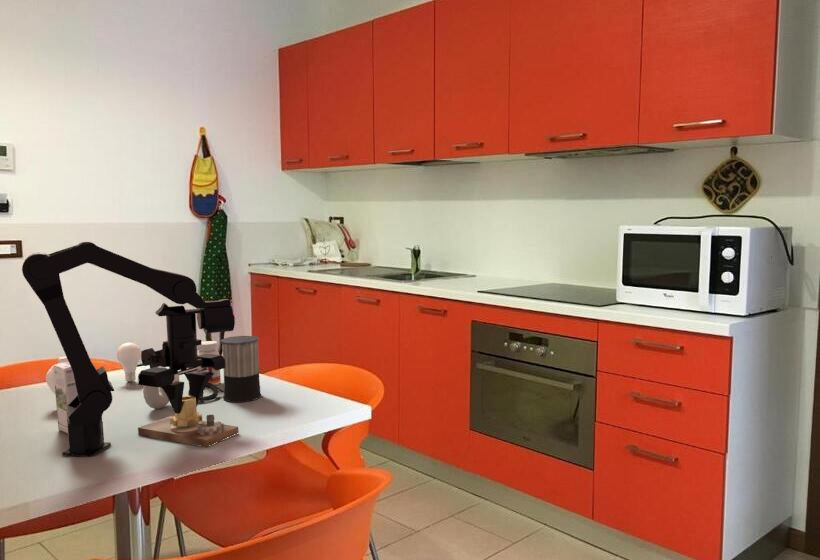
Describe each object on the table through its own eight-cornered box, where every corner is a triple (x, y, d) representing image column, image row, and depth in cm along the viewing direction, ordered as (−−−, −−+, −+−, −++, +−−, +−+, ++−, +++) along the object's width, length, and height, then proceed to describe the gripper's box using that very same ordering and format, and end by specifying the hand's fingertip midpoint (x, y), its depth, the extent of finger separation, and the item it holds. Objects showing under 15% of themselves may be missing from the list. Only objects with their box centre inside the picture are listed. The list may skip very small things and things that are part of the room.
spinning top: (48, 405, 166) (44, 356, 165) (82, 400, 169) (79, 352, 168) (47, 412, 159) (44, 362, 158) (84, 408, 163) (80, 358, 161)
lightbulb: (119, 380, 190) (116, 341, 189) (143, 378, 192) (141, 339, 190) (116, 385, 184) (114, 345, 183) (142, 383, 186) (139, 343, 184)
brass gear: (194, 426, 138) (192, 402, 137) (165, 426, 139) (163, 402, 138) (206, 417, 144) (205, 394, 143) (179, 417, 145) (177, 394, 144)
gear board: (238, 433, 141) (237, 406, 140) (207, 447, 133) (205, 418, 133) (171, 422, 150) (170, 397, 149) (138, 434, 142) (136, 407, 141)
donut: (154, 414, 156) (152, 371, 155) (141, 414, 157) (138, 371, 156) (178, 402, 166) (175, 362, 165) (165, 402, 166) (162, 361, 165)
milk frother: (268, 397, 169) (266, 338, 167) (208, 411, 158) (205, 347, 157) (240, 387, 179) (238, 331, 178) (182, 399, 169) (179, 340, 167)
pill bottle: (192, 386, 182) (190, 344, 181) (206, 380, 188) (204, 340, 186) (211, 387, 180) (209, 345, 179) (225, 382, 185) (223, 341, 184)
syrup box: (96, 429, 146) (92, 362, 145) (68, 436, 142) (63, 367, 140) (84, 424, 150) (80, 359, 148) (56, 431, 145) (51, 364, 144)
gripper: (187, 326, 152) (190, 395, 153) (116, 341, 135) (121, 418, 137) (225, 329, 146) (228, 400, 148) (156, 345, 130) (161, 425, 131)
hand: (185, 410), depth 141 cm, fingers closed on brass gear, 4 cm apart
